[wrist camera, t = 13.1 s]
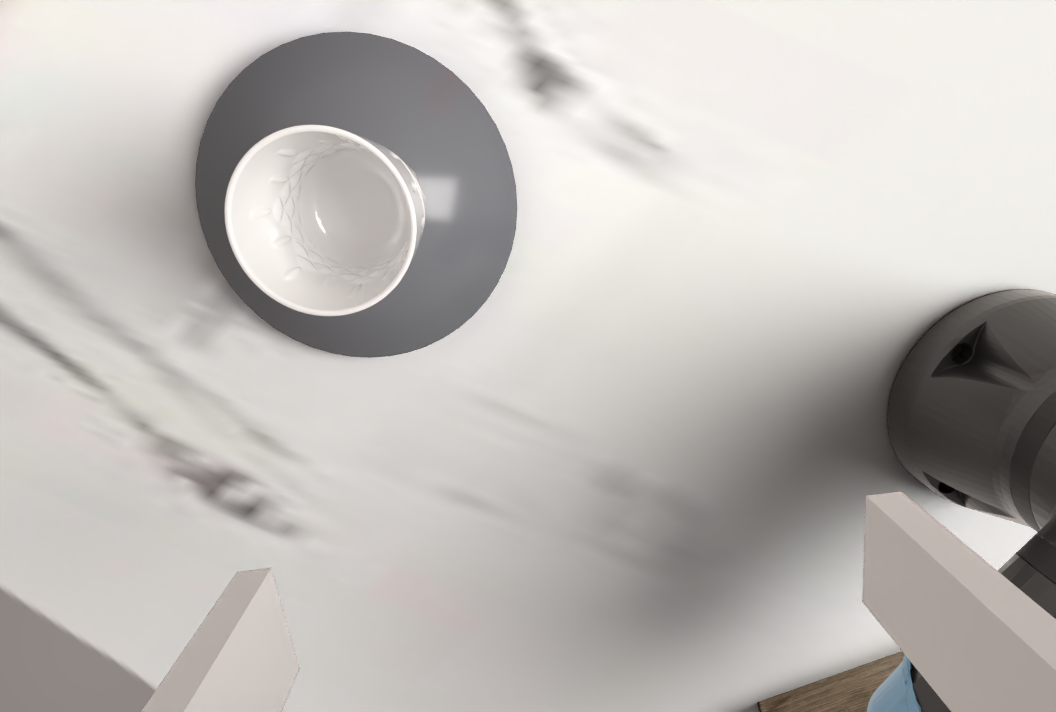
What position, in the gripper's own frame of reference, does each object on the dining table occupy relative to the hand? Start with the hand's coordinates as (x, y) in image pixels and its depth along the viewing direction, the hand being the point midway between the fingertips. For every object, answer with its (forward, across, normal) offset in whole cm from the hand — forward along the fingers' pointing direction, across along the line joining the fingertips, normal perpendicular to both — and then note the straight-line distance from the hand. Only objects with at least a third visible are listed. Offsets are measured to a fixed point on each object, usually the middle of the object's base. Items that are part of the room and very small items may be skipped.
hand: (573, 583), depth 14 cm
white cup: (+25, +9, -8) cm, 28 cm away
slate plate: (+26, +9, -8) cm, 29 cm away
